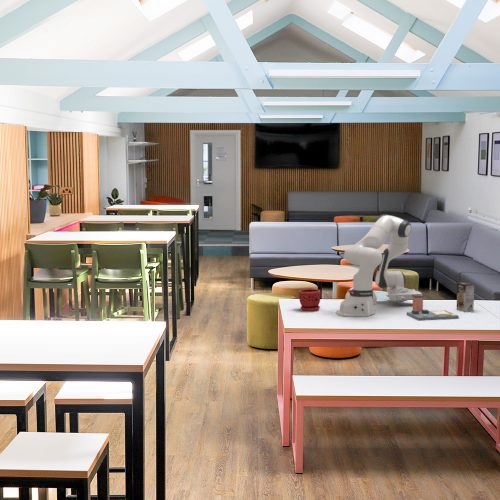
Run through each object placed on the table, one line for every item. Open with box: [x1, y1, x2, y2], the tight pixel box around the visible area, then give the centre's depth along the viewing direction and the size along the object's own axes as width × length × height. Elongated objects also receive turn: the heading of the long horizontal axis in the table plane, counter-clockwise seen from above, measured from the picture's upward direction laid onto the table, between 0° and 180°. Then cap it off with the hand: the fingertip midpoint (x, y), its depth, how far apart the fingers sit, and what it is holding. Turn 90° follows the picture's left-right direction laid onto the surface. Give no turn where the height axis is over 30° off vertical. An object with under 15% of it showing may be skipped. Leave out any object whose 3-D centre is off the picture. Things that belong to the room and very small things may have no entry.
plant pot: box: [298, 288, 322, 312], centre depth 466 cm, size 13×13×12 cm
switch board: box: [406, 309, 460, 322], centre depth 442 cm, size 24×17×3 cm
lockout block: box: [412, 294, 425, 312], centre depth 457 cm, size 5×5×10 cm
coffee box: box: [456, 281, 475, 313], centre depth 460 cm, size 9×6×16 cm
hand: (409, 298), depth 469 cm, fingers open, 8 cm apart
